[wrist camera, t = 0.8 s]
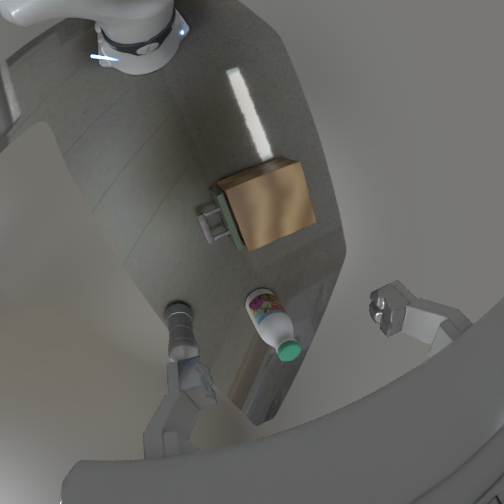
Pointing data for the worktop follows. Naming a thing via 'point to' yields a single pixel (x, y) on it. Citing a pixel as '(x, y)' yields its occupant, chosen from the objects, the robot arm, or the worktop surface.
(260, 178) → the cabinet
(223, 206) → the drawer
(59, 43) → the worktop surface
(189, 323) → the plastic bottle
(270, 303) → the milk bottle
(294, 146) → the worktop surface
